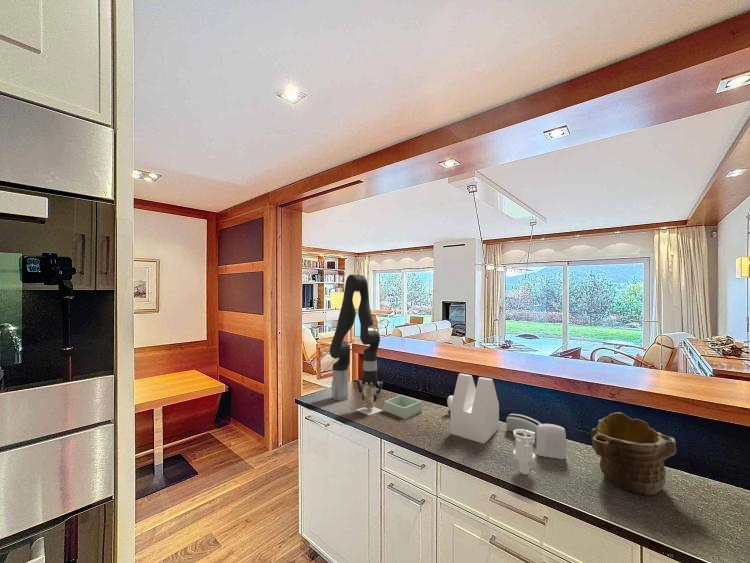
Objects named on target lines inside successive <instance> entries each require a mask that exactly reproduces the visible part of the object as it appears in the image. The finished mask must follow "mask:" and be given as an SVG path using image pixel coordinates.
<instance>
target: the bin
mask: <svg viewBox="0 0 750 563" xmlns="http://www.w3.org/2000/svg"><path fill="white" fill-rule="evenodd" d="M422 407H423V402H422V400H419V399H416V398H411V397H410V396H406V395H403V394H401V395H397V396H395V397H392V398H389V399H386V400H383V411H384V412H386V413H389V414H391V415H394V416H397V417H399V418H401V420H402V421H406V420H409V419H412V418H413V417H416V416H418V415H420V414H422V413H423V411H422V410H423V409H422Z"/></svg>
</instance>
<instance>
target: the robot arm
mask: <svg viewBox="0 0 750 563" xmlns="http://www.w3.org/2000/svg"><path fill="white" fill-rule="evenodd" d="M368 283H369V282H368V280H367V278H366V276H365V275H363V274H349V275H347V278H346V280H345V285H344V290H343V296H342V298H343V299H342V303H341V308H340V311H339V315H338V319H337V323H336V327H335V332H334V335H333V337H332V340H331V343H330V347H329V355H330V357H331V358H332V359H337V360H336V361H335V362H334V363H333V364H332V381H331V398H332V400H334V401H338V402H340V401H342V402H343V401H346V400H348V399H349V365H350V360H351V359H350V358H351V346H350V344H349V343H348V341H345V340H344V338H345V337H346V335H347V334H348V333H349V331H350V330H351V329H352V328H353V326H354V323H355V319H356V316H357V315H358V320H359V324H360V325H359V326H360V328H359V329H360V332H359V339H360V341H361V344H362V345H365V346H368V345H369V346H368V347H367V348H365V349H364V350H363V356H362V357H363V362H362V378H361V379H358V380H357V381H356V384H357V389H358V392H359V393H361V399H362V401H363V402H364V388H362V384H363V385H364V384H371V385H373V384H374V387H375V388H374V402H375V403H376V401H377V400H378V395H380V393H381V392H382V387H383V383H384V382H383V381H379V380H378V361H377V359H378V358H377V357H378V350H379V346H380V342H381V335H380V332H378V331H377V330H374V329H373V330H369V328H370V327H372V326H373V325H374V319H373V315H372V312H371V306H370V296H369V284H368ZM355 292H359V296H360V302H359V306H358V309H357V311H358V312H356V308H355V305H354V300H353V298H354V293H355ZM343 340H344V341H343ZM376 385H378V388H377V386H376ZM377 389H378V390H377Z"/></svg>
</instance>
